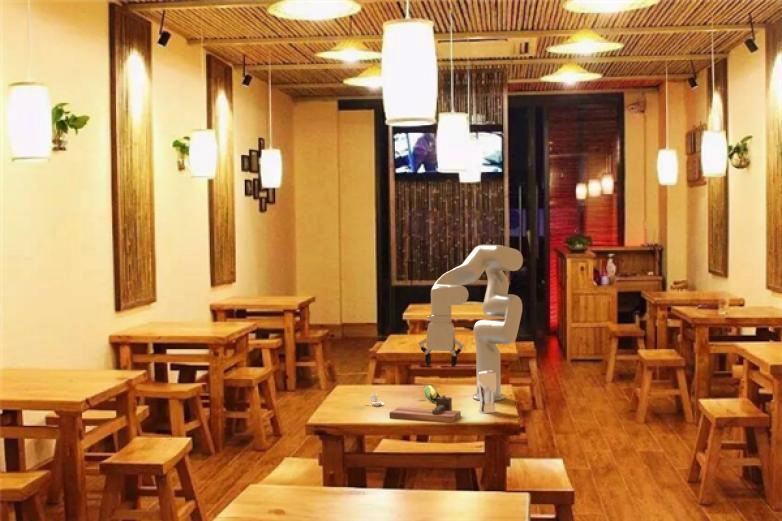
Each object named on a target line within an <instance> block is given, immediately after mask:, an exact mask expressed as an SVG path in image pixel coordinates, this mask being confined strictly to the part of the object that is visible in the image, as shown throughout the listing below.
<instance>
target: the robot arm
mask: <svg viewBox="0 0 782 521" xmlns="http://www.w3.org/2000/svg"><path fill="white" fill-rule="evenodd" d="M523 260H524V257H523V255H522V252H520V251H519V250H518V249H516V248H512V247H509V246H505V245H501V244H479V245H477V246H475V247H474V249H473V250H471V252H470V253H469V254H468V256H467V257H466V258H465V259H464V261H462V262H463V263H462V264H460V265H459V266H455V267H454V268H453V269H451V270H449V271H446V272H445V273H444V274H442V275H441V276H440V277H439V278H438V279H437V280H436V281H435V283H434V285H433V286H432V287H431V289H430V315H428V316H427V320H429V321H430V322H429V323H428V326H427V332H426V338H425V339H423V340H421V341H419V342H418V346H419V348H420V351H421V352H422V353H424V356H425V358H424V359H425V360H424V362H425V364H426V366H431V365H432V354H431V352H432V351H439V352H450V353H451V355H452V356H451V361H450V362H451V363H450V364H451V365H450V366H451V367H452V368H455V367H456V366H457V364H458V356H459V354H460V353H461V352H462V350H463V348H464V346H465V344H464V343H463V342H461V341H459V340H458V339H456V333H455V327H454V326H455V325H454V323H453V322H452V305H453V306H454V305H455V306H460V305H463V304H465V303H466V302H467V300H468V299H469V291H468V289H467V287H466V286H464V285H468V284H472V283H474V282H477V281H478V280H479V279H480V278H481V276H482V275H483V273H485V274H486V276H487V286H486V291H485V294H484V299H483V305H482V311H483V314H484V315H485V316H487V317H489V318H496V319H489V318H484V319H479V320H478V321H476V322H475V324H474V326H473V337H474V342H475V348H476V349H475V351H476V352H475V354H476V355H475V356H476V359H475V360H476V361H475V362H476V393H474V394H472V399H473V400H476V401H480V397H479V392H478V371H483V370H491V371H495V372H496V392H495V399H494V402H495V401H502V400H504V399H505V394H503V393H502V392H501V391H502V390H501V380H502V379H501V376H502V375H501V352H500V350H499V347H498V346H497V345H505V346H508V345H512V344H514V343H515V341H516V340H517V337H518V336H517V335H518V332H519V327H520V322H521V318H522V313H523V302H522V299H521V298H520V297H519V296H518V295H515V294H510V293H509V286H510V283H509V280H508V277H507V276H506V274H505V273H504V272H511V271H512V272H515V271H519V269H521V268H522V266H523V263H524V261H523ZM508 293H509V294H508ZM498 318H500V319H498ZM425 345H426V346H425ZM456 345H457V346H458V348H457V349H456Z"/></svg>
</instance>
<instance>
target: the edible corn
mask: <svg viewBox="0 0 782 521" xmlns="http://www.w3.org/2000/svg"><path fill="white" fill-rule="evenodd" d="M423 393H424V395H425V397H427V398H428V399H429V400H430V401H431V402H433V403H434V404H436V398H438V397H441V396H440V394H439V392H438V390H437V388H436V386H434V385H433V384H426V386H425V387H424V388H423Z"/></svg>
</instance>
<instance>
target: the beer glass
mask: <svg viewBox="0 0 782 521" xmlns="http://www.w3.org/2000/svg"><path fill="white" fill-rule="evenodd" d="M478 392H479V397H480V400H479V410H478V412H479V413H481V414H493V413H496V407H495V401H494V399H495V392H496V372H495V371H491V370H483V371H478Z"/></svg>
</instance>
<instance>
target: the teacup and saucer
mask: <svg viewBox="0 0 782 521" xmlns="http://www.w3.org/2000/svg"><path fill="white" fill-rule="evenodd" d="M369 400H370V401H369V402H371V403H370V405H373V406H372V407H379V405H380V406H384V405H385V404H386V403H385V402H382V401H379V394H377V393H371V394H370V393H369ZM381 404H382V405H381Z"/></svg>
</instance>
